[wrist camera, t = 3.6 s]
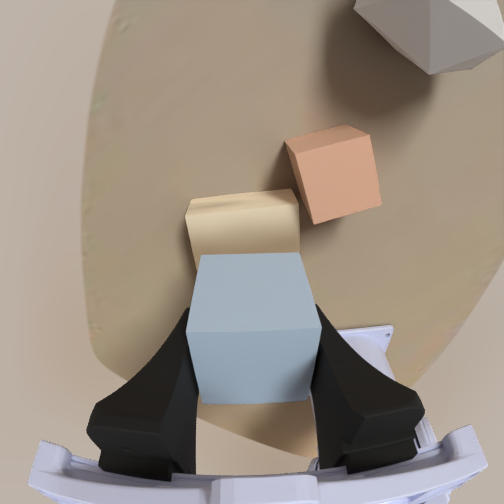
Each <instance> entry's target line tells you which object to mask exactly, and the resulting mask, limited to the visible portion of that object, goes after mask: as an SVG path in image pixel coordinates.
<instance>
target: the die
mask: <svg viewBox="0 0 504 504" xmlns="http://www.w3.org/2000/svg"><path fill="white" fill-rule="evenodd" d="M354 10H355V11H356V12H357V13H358V14H360V15H361V16H362V17H363V18H364V19H365V20H366V21H367V22H368V23H369V24H370V25H371V26H372V27H373V28H374V29H375V30H376V31H377V32H378V33H379V34H380V35H381V36H382V37H383V38H384V39H385V40H386V41H387V42H388V43H389V44H390V45H391V46H392V47H393V48H394V49H395V50H396V51H398V52H399V53H401V54H402V55H403V56H405V57H406V58H408V59H409V60H410V61H412V62H413V63H414V64H416V65H417V66H418V67H420V68H421V69H422V70H423V71H425V72H426V73H427V74H429V75H432V74H438V73H445V72H452V71H460V70H469V69H472V68H474V67H476V66H477V65H479V64H480V63H482V62H483V61H485V60H487V59H488V58H490V57H491V56H493V55H495V54H496V53H498V52H499V51H501V50H503V49H504V23H503V20H502V16H501V13H500V10H499V6H498V3H497V0H356V3H355V6H354Z"/></svg>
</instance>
